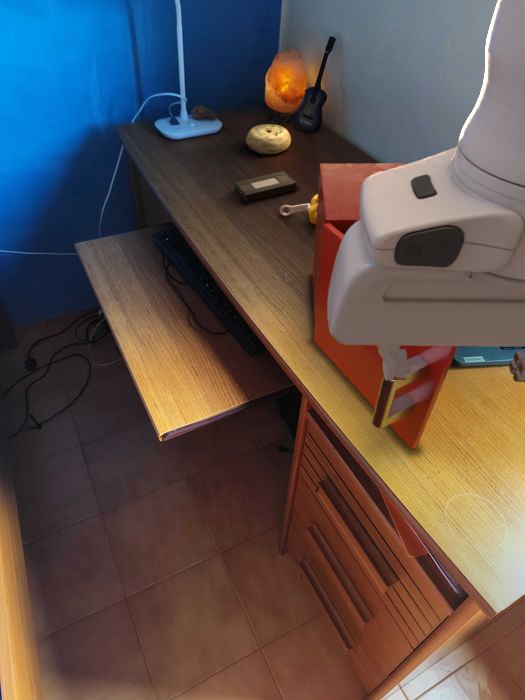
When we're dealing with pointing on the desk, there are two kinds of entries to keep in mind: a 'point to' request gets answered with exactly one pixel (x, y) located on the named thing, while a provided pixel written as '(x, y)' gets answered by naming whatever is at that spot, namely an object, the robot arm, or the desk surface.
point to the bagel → (268, 139)
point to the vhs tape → (265, 186)
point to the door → (367, 365)
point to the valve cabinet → (339, 203)
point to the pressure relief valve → (304, 209)
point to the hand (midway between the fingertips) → (456, 374)
